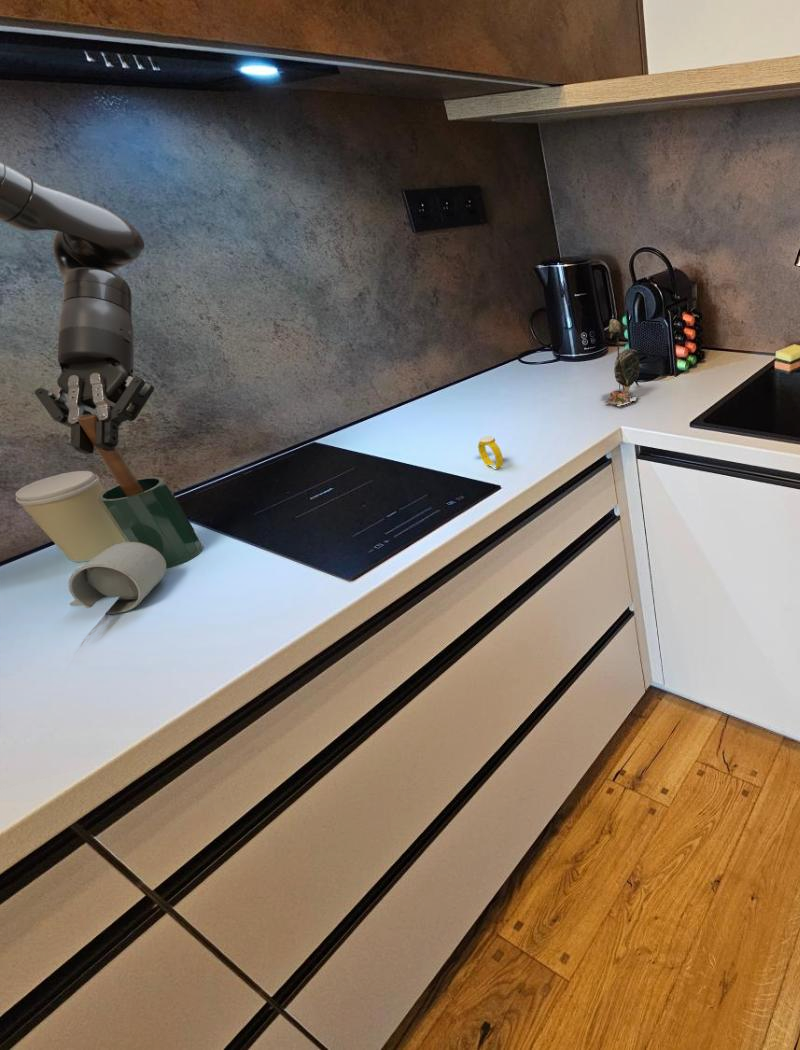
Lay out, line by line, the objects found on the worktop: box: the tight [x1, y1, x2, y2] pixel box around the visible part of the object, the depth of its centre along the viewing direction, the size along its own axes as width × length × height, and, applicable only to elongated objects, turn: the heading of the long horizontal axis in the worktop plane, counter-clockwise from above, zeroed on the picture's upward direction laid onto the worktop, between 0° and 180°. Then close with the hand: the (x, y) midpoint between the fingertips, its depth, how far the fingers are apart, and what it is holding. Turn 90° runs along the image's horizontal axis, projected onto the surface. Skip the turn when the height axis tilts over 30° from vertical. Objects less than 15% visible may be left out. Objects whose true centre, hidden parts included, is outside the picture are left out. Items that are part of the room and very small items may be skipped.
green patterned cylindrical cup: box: [98, 476, 205, 569], centre depth 88 cm, size 8×8×12 cm
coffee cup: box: [15, 470, 126, 563], centre depth 92 cm, size 9×9×12 cm
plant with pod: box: [604, 318, 641, 406], centre depth 138 cm, size 8×11×20 cm
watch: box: [477, 435, 504, 469], centre depth 112 cm, size 6×3×6 cm, turn 51°
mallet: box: [77, 414, 144, 497], centre depth 84 cm, size 4×4×18 cm
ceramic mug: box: [68, 542, 167, 615], centre depth 80 cm, size 11×8×8 cm
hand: (94, 449), depth 80 cm, fingers closed on mallet, 2 cm apart
